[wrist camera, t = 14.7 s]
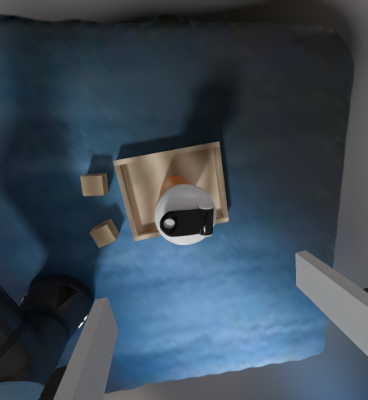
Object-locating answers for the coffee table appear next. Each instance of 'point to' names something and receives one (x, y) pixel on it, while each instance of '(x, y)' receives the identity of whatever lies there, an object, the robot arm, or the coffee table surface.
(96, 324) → the robot arm
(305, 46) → the coffee table surface
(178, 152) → the tray
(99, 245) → the oak block
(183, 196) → the shaker bottle
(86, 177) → the oak block
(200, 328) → the coffee table surface
